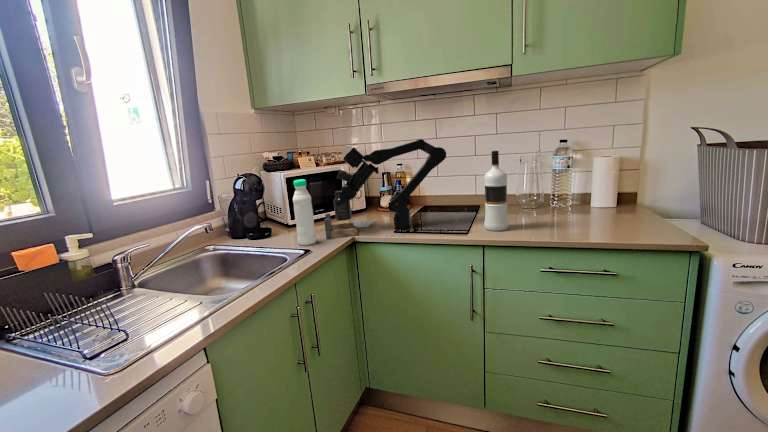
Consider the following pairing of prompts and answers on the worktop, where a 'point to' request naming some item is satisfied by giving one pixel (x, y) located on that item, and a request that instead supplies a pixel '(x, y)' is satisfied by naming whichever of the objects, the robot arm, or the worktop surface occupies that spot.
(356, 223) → the slate mat
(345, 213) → the supplement bottle
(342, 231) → the bracket holder
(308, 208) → the milk bottle
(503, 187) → the vodka
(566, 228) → the worktop surface
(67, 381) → the worktop surface
